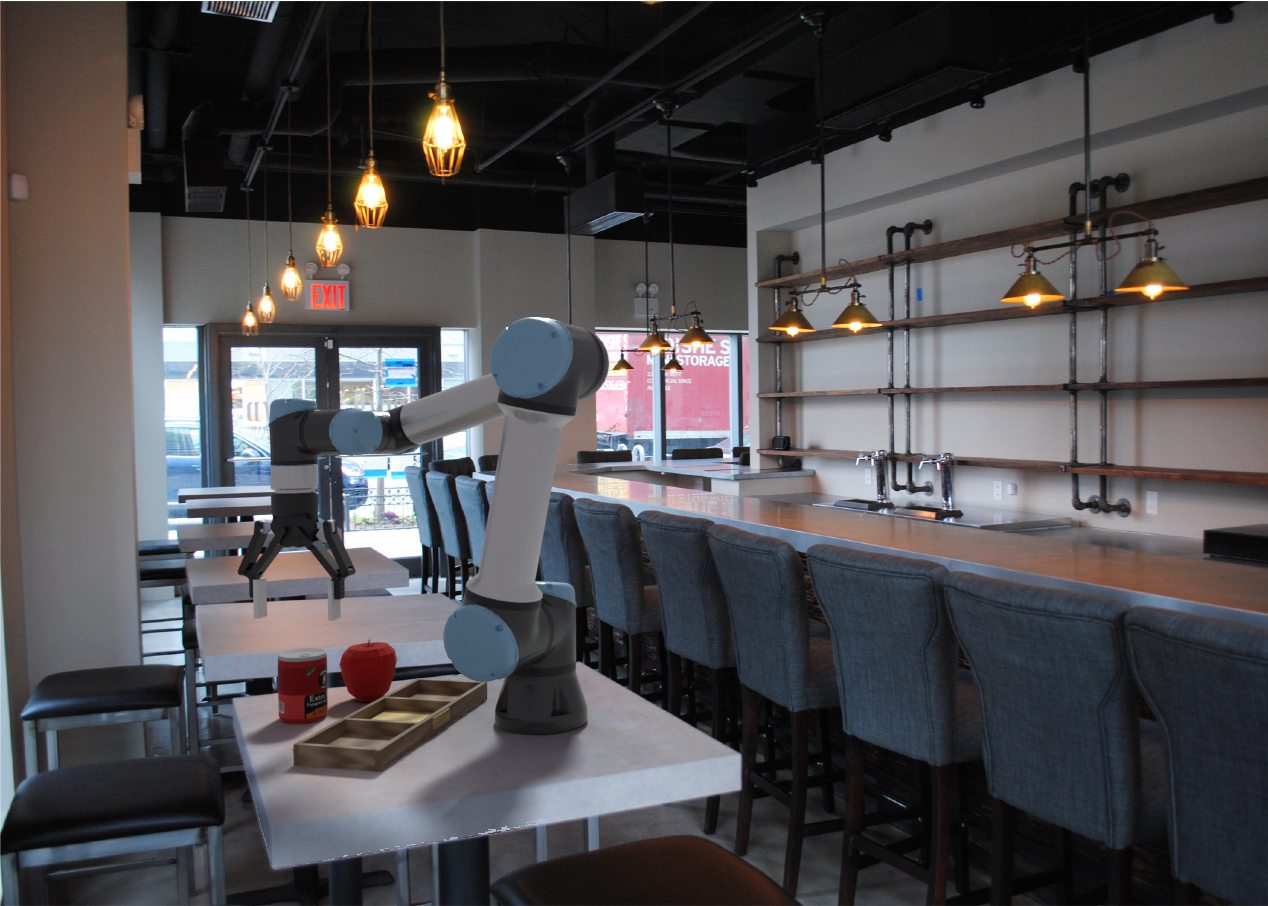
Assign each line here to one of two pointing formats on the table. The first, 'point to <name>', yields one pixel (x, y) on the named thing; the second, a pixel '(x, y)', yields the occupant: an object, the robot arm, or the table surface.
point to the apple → (368, 670)
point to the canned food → (302, 685)
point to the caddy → (390, 725)
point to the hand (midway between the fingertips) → (297, 618)
